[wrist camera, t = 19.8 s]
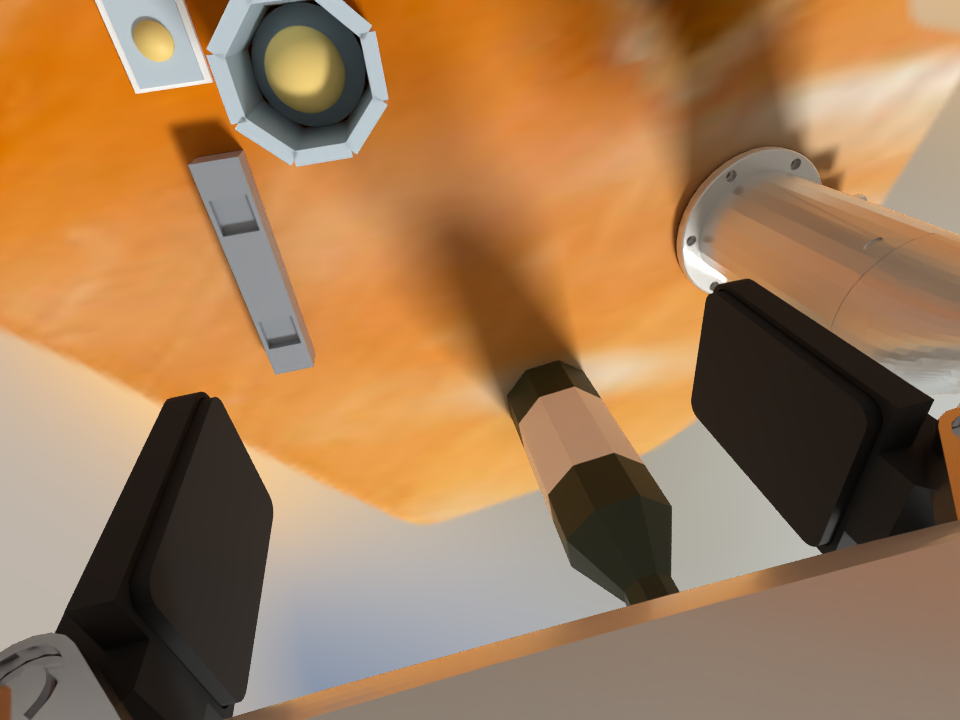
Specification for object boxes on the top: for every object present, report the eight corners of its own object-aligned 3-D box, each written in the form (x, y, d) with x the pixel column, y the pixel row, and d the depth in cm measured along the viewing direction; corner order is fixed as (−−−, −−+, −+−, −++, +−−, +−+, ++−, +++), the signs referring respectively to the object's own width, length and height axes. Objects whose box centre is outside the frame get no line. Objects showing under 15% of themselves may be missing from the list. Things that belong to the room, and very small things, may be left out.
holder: (243, 149, 34) (237, 156, 32) (315, 353, 43) (314, 366, 41) (195, 157, 34) (187, 164, 32) (278, 360, 43) (275, 374, 41)
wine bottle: (563, 344, 48) (789, 693, 23) (602, 397, 52) (826, 736, 28) (489, 395, 49) (628, 774, 25) (534, 443, 54) (688, 802, 29)
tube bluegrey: (360, -24, 30) (363, -32, 25) (390, 127, 35) (398, 149, 29) (215, -5, 30) (183, -9, 24) (265, 147, 34) (248, 174, 28)
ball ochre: (336, 19, 31) (330, 20, 27) (355, 101, 33) (351, 112, 30) (261, 30, 30) (244, 32, 27) (285, 112, 33) (273, 124, 29)
